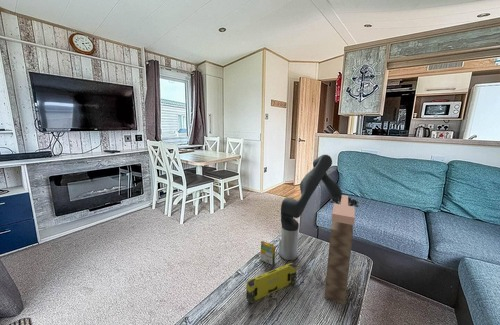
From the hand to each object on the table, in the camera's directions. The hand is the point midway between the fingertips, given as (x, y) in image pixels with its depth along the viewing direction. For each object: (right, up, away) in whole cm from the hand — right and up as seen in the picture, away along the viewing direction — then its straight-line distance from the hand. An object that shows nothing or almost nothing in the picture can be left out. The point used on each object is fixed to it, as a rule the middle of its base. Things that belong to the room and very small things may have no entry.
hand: (344, 198), depth 100 cm
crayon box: (-35, -37, +14) cm, 53 cm away
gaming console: (-35, -40, -6) cm, 54 cm away
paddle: (-4, -4, -8) cm, 10 cm away
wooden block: (-7, -40, -6) cm, 41 cm away
